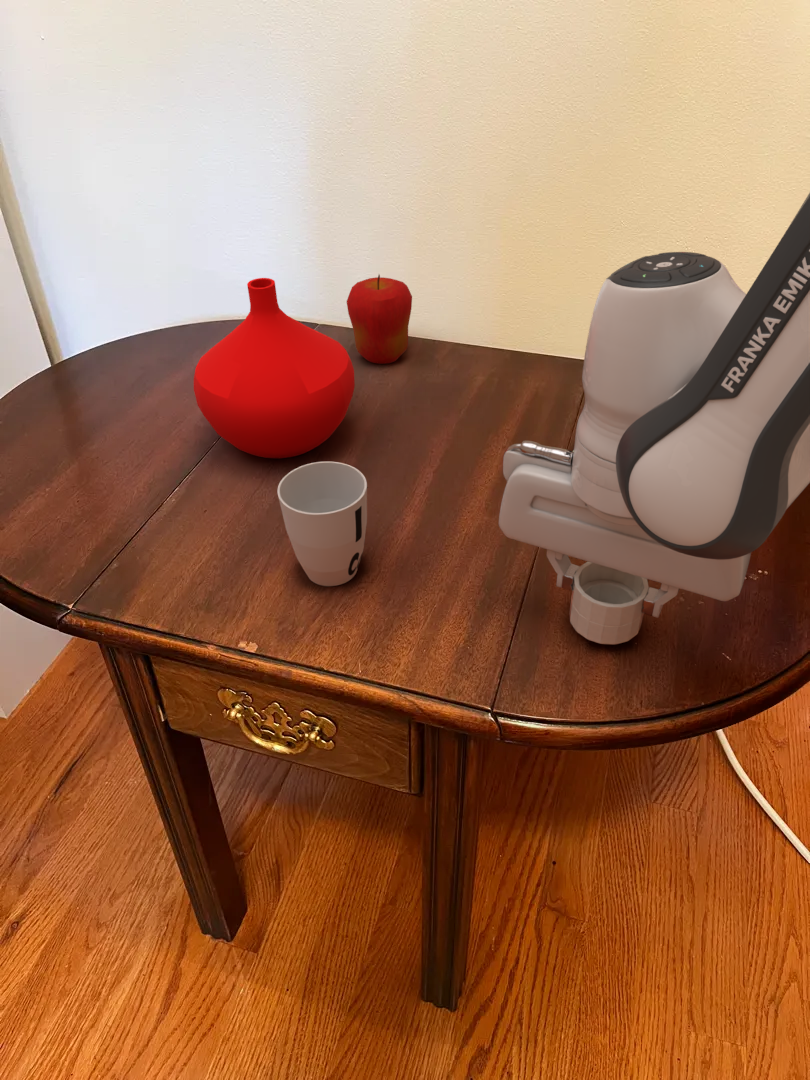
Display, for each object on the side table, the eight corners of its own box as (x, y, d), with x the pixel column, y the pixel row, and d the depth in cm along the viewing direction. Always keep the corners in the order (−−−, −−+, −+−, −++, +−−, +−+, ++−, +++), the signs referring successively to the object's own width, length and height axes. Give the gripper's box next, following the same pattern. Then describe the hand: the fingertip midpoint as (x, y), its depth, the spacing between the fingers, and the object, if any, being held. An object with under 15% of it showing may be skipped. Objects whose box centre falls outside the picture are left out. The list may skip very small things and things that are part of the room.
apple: (415, 342, 119) (413, 261, 111) (410, 371, 113) (408, 286, 105) (355, 341, 120) (350, 260, 112) (347, 369, 113) (340, 286, 106)
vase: (360, 475, 94) (348, 315, 82) (197, 485, 94) (160, 326, 82) (356, 393, 108) (346, 247, 96) (214, 401, 108) (186, 255, 96)
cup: (370, 596, 79) (364, 513, 73) (285, 597, 79) (271, 514, 73) (374, 541, 85) (368, 460, 79) (295, 542, 86) (283, 461, 79)
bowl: (647, 611, 76) (656, 570, 73) (628, 657, 72) (636, 616, 68) (582, 591, 78) (587, 550, 75) (559, 634, 74) (564, 593, 71)
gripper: (489, 455, 66) (484, 584, 75) (760, 525, 58) (719, 660, 67) (519, 417, 70) (511, 543, 79) (775, 477, 62) (735, 610, 71)
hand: (609, 597), depth 73 cm, fingers closed on bowl, 6 cm apart
